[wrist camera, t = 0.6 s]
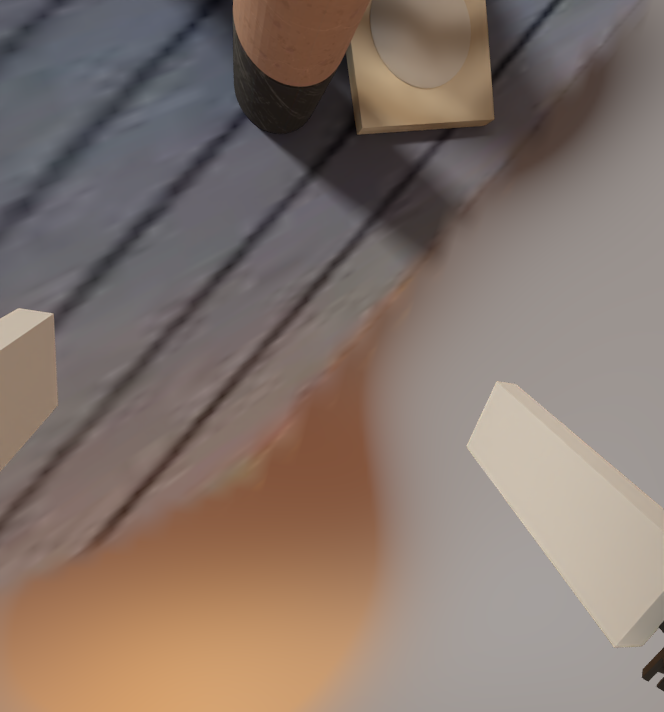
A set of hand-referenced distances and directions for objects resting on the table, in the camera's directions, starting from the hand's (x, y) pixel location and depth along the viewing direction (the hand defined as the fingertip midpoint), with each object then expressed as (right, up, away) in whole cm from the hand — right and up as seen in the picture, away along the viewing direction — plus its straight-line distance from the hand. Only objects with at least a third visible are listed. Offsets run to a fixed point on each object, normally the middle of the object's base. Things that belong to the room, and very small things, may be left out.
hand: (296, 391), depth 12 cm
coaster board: (+9, +31, +25) cm, 41 cm away
